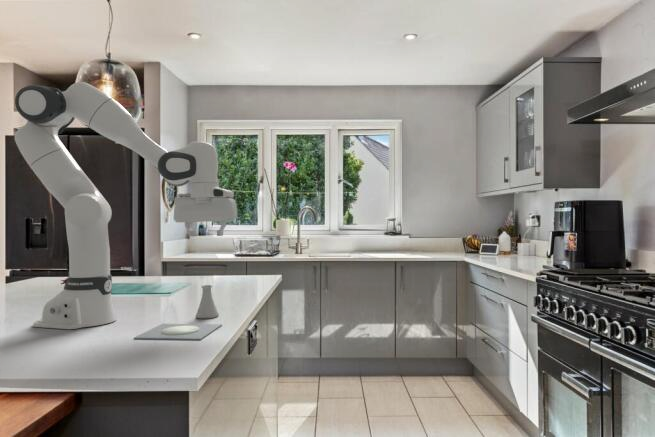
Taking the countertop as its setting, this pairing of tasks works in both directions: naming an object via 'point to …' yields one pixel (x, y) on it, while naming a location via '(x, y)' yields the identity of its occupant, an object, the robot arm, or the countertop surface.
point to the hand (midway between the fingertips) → (205, 236)
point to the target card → (179, 332)
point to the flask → (207, 304)
